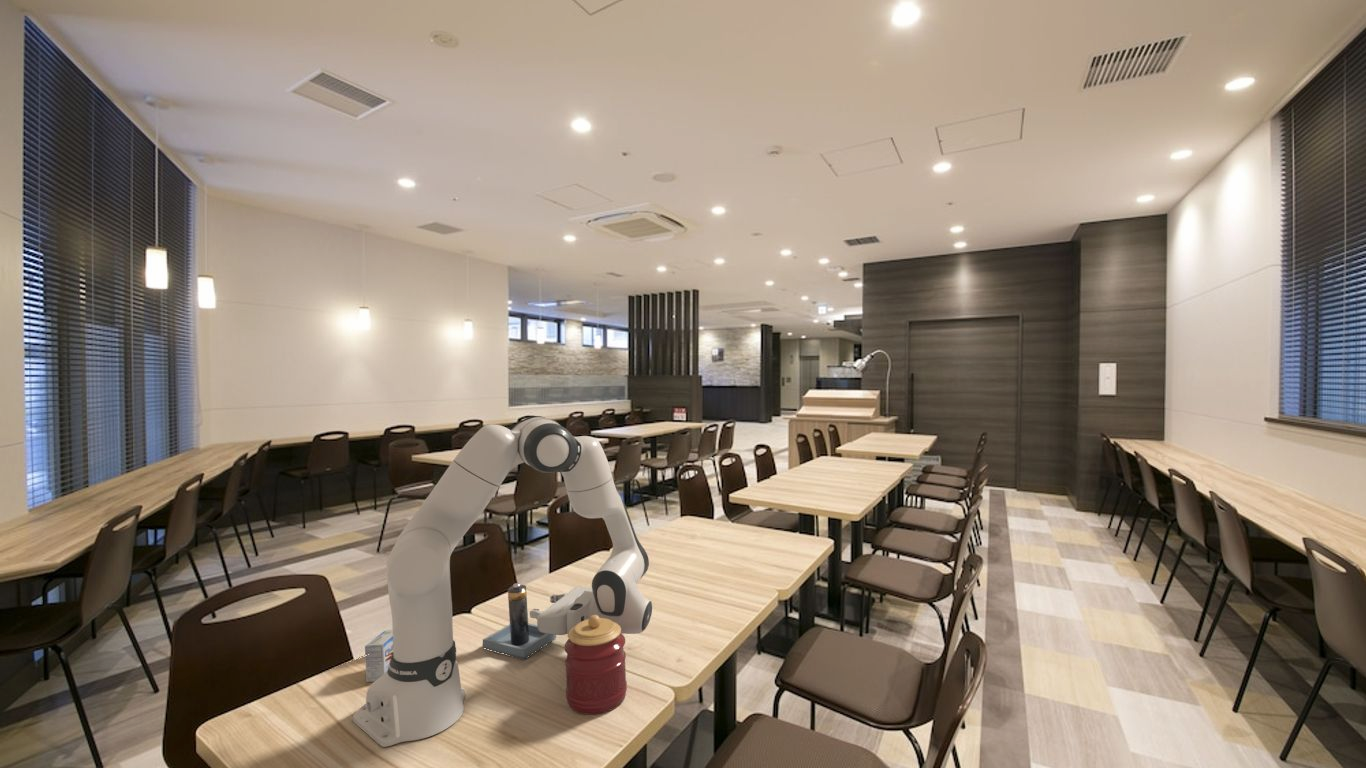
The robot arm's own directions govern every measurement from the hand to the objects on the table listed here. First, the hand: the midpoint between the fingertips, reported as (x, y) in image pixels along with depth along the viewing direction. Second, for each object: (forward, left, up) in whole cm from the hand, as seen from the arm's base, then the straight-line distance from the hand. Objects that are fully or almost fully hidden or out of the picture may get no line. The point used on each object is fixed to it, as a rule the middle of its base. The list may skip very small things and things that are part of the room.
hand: (541, 605), depth 137 cm
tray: (-7, -1, -11) cm, 13 cm away
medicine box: (-27, -25, -11) cm, 38 cm away
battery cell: (-7, -1, -10) cm, 12 cm away
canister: (+26, -13, -11) cm, 31 cm away
